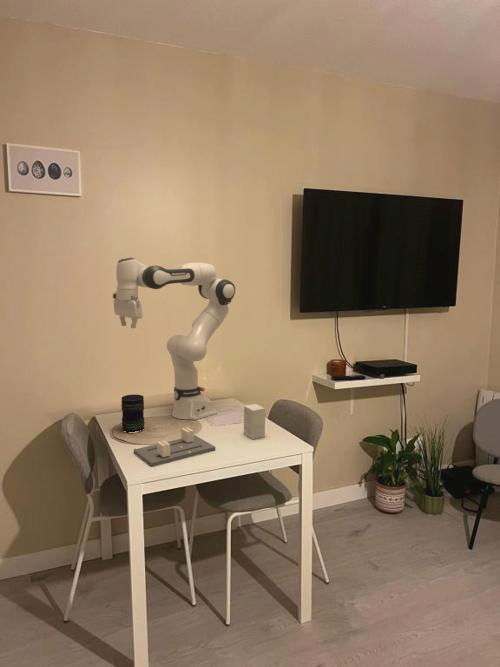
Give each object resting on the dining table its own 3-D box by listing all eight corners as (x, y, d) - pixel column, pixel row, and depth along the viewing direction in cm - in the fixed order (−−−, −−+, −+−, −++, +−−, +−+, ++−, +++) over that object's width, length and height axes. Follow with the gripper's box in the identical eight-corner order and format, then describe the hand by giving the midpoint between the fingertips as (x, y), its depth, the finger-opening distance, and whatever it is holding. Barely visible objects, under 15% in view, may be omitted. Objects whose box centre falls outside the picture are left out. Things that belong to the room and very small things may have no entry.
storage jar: (149, 429, 224) (148, 397, 222) (130, 435, 217) (129, 401, 215) (135, 424, 231) (135, 393, 228) (117, 429, 223) (116, 397, 221)
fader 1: (164, 451, 194) (164, 439, 194) (170, 455, 190) (170, 443, 190) (157, 453, 193) (157, 441, 192) (163, 457, 189) (163, 445, 188)
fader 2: (187, 437, 210) (187, 426, 209) (193, 441, 206) (193, 430, 205) (181, 439, 208) (181, 428, 207) (187, 442, 204) (187, 431, 203)
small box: (265, 437, 216) (265, 408, 214) (252, 439, 213) (252, 410, 211) (255, 431, 223) (256, 403, 221) (243, 434, 220) (243, 405, 218)
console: (195, 438, 214) (195, 434, 213) (215, 450, 201) (215, 446, 201) (133, 453, 197) (133, 449, 197) (151, 466, 184) (151, 462, 184)
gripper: (145, 296, 212) (146, 329, 214) (123, 293, 227) (124, 323, 229) (131, 297, 208) (132, 330, 210) (110, 294, 223) (111, 325, 225)
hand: (128, 326), depth 220 cm, fingers open, 8 cm apart
